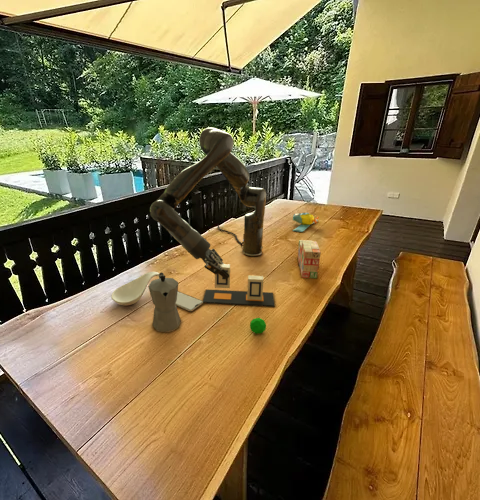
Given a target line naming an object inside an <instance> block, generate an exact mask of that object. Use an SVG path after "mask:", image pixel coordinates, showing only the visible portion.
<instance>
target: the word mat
mask: <svg viewBox="0 0 480 500" xmlns="http://www.w3.org/2000/svg"><path fill="white" fill-rule="evenodd" d="M202 301H203V303H202V304H212V305H213V304H214V305H215V304H216V305H230V306H231V305H232V306H233V305H234V306H248V307H249V306H250V307H252V306H253V307H268V308H269V307H270V308H275V305H276V304H275V299H274V293H273V292H266V291H263V297H262V300H250V299H247V290H246V291H244V290H226V289H225V290H224V289H223V290H222V289H205V291H204V296H203V300H202Z"/></svg>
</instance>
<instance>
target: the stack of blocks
mask: <svg viewBox="0 0 480 500" xmlns="http://www.w3.org/2000/svg"><path fill="white" fill-rule="evenodd" d="M321 254H322V252H321V249H320V247H319V244H318V242H317V241H316V240H309V239H305V240H304V239H298V250H297V262H298V265H299V270H300V274H301V278H305V279H318V273H319V266H320V259H321Z"/></svg>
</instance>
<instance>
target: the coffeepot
mask: <svg viewBox="0 0 480 500" xmlns="http://www.w3.org/2000/svg"><path fill="white" fill-rule="evenodd" d="M147 287H148V290H149V294H150V298H151V301H152V304H153V305H154V308H153V316H152V317H153V318H152V327H153V328H154V329H155V330H156V331H157V332H160V333H169V332H173V331H175V330H177V329H178V328H179V327H180V323H181V317H180V314H179V313H180V312H179V310H178V306H176V304H175V303H176V301H177V291H178V292H179V290H178V289H179V281H177V280H176V279H174V278H173V277H166V275H165V274H164V272H162V271H161V272H159V276H158V278H156V279H152V280H151V281H150V283H148V285H147Z"/></svg>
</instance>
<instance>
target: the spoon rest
mask: <svg viewBox="0 0 480 500" xmlns="http://www.w3.org/2000/svg"><path fill="white" fill-rule="evenodd" d="M159 274H160V272H158V271H148V272H146V273H145V274H143V275H141V276H139V277H136V278H135V279H133V280H130V281H129V282H127V283H125V284H123V285H120V286H119V287H117V288H116V289H114V290H113V292H112V293H111V296H110V297H111V300H112V301H113V302H114V303H116V304H117V305H120V306H131V305H134V304H136V303H137V302H138V301H140V300H141V299H142V297H143V295H144V293H145V291H146V289H147V287H148V286H149V284H150V283H149V282H151V280H152V279H153V278H154V277H159Z"/></svg>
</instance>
